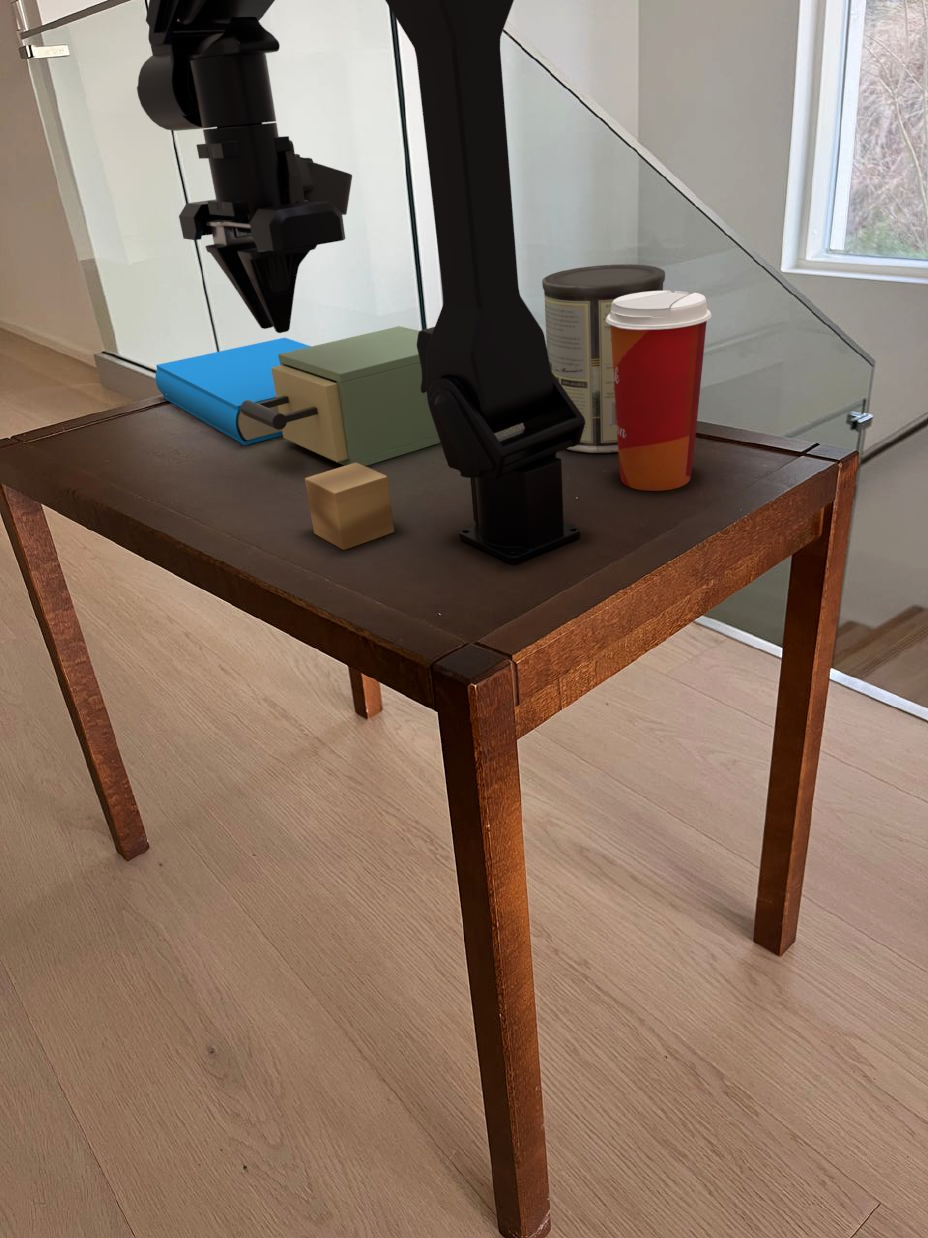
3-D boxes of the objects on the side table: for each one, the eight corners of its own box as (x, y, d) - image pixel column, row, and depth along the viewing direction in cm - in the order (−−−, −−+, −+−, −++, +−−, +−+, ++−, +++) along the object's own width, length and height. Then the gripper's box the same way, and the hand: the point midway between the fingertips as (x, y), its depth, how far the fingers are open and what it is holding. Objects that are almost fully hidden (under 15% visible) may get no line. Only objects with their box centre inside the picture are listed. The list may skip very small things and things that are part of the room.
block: (394, 532, 71) (387, 475, 69) (343, 550, 69) (334, 493, 67) (363, 516, 75) (356, 461, 73) (313, 533, 73) (304, 477, 70)
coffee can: (597, 411, 94) (595, 260, 87) (684, 429, 87) (690, 267, 80) (524, 440, 88) (516, 280, 81) (612, 462, 81) (611, 289, 74)
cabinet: (353, 470, 84) (339, 373, 80) (293, 442, 93) (277, 353, 89) (475, 432, 91) (468, 341, 87) (408, 409, 99) (399, 325, 95)
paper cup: (644, 455, 82) (646, 285, 75) (723, 473, 76) (732, 292, 70) (586, 483, 77) (583, 305, 70) (666, 504, 72) (670, 314, 65)
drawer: (291, 476, 82) (277, 398, 78) (240, 450, 89) (225, 378, 86) (451, 427, 90) (444, 355, 87) (392, 407, 97) (384, 340, 94)
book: (284, 337, 118) (385, 366, 99) (290, 371, 120) (391, 407, 101) (149, 365, 110) (232, 403, 91) (158, 402, 112) (241, 447, 93)
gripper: (390, 112, 71) (413, 324, 79) (278, 121, 85) (306, 301, 92) (256, 125, 66) (293, 352, 73) (158, 132, 79) (199, 323, 87)
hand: (275, 329), depth 82 cm, fingers open, 3 cm apart
